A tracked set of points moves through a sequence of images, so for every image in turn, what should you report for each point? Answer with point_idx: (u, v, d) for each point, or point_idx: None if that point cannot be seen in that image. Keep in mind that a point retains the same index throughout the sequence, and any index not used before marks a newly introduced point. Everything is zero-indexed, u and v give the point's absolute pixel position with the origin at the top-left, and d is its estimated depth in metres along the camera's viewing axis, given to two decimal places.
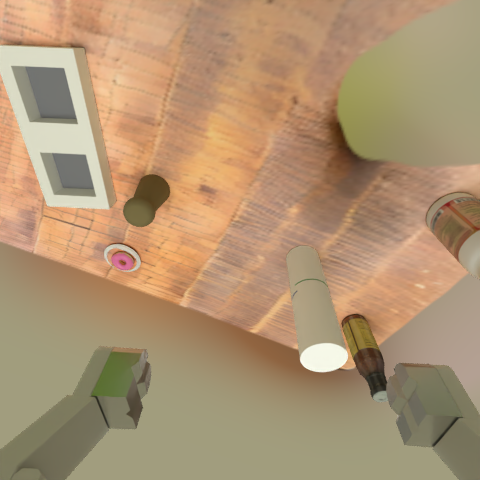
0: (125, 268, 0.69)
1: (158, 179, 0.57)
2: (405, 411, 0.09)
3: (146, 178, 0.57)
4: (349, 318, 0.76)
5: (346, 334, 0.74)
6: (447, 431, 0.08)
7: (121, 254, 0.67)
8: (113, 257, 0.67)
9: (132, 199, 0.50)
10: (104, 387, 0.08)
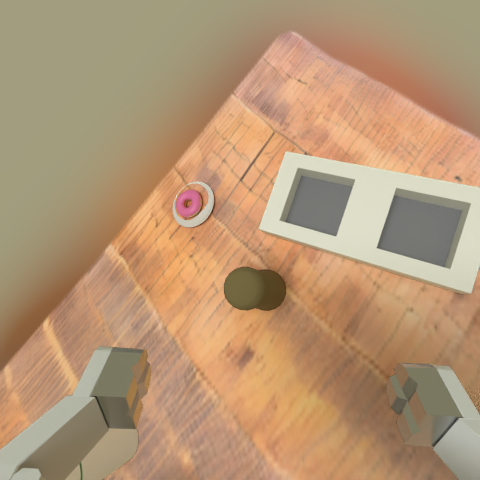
0: (178, 203, 0.52)
1: (277, 304, 0.43)
2: (405, 411, 0.09)
3: (282, 290, 0.43)
4: None
5: None
6: (447, 431, 0.08)
7: (197, 207, 0.51)
8: (197, 195, 0.51)
9: (264, 289, 0.36)
10: (104, 387, 0.08)
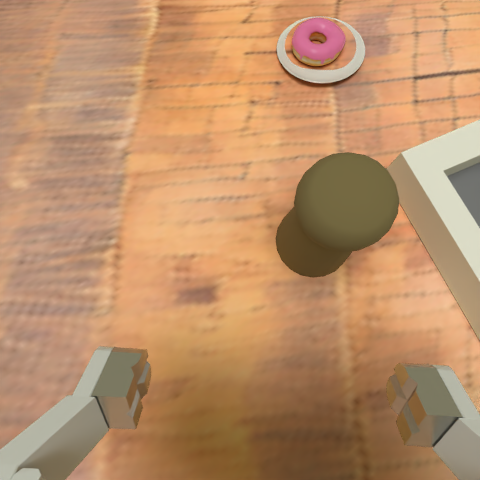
0: (306, 25, 0.28)
1: (313, 273, 0.23)
2: (405, 411, 0.09)
3: (340, 264, 0.23)
4: None
5: None
6: (447, 431, 0.08)
7: (327, 56, 0.28)
8: (342, 40, 0.28)
9: (381, 237, 0.15)
10: (104, 387, 0.08)
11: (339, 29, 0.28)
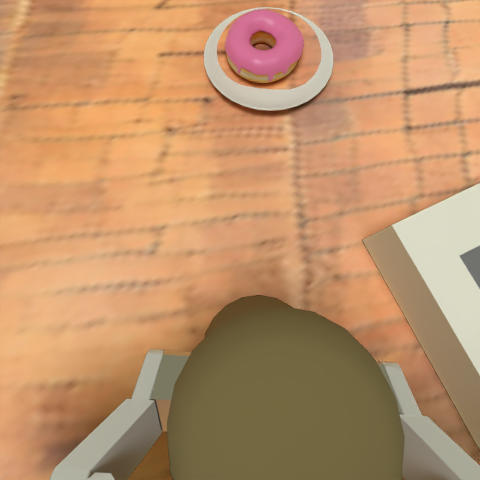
0: (244, 21, 0.19)
1: None
2: None
3: None
4: None
5: None
6: None
7: (276, 70, 0.18)
8: (298, 45, 0.18)
9: None
10: (162, 390, 0.08)
11: (294, 27, 0.19)
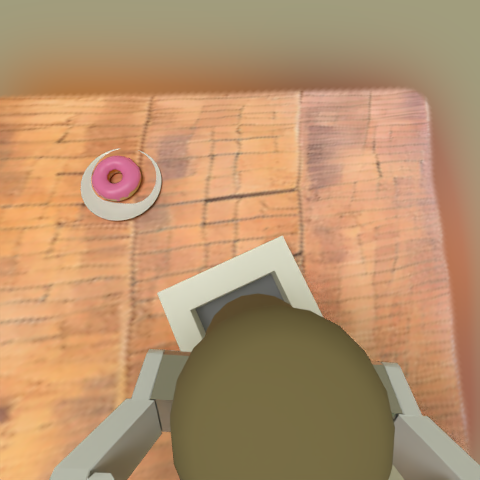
0: (102, 165, 0.31)
1: None
2: None
3: None
4: None
5: None
6: None
7: (120, 196, 0.30)
8: (134, 181, 0.30)
9: None
10: (162, 390, 0.08)
11: (133, 169, 0.31)
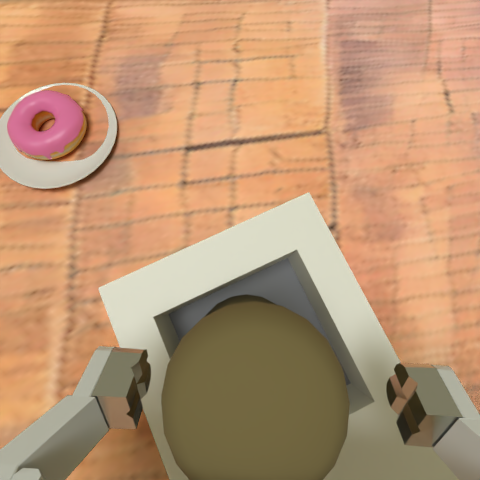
0: (23, 103, 0.20)
1: None
2: (405, 411, 0.09)
3: None
4: None
5: None
6: (447, 431, 0.08)
7: (50, 150, 0.19)
8: (72, 127, 0.20)
9: None
10: (104, 387, 0.08)
11: (71, 109, 0.20)
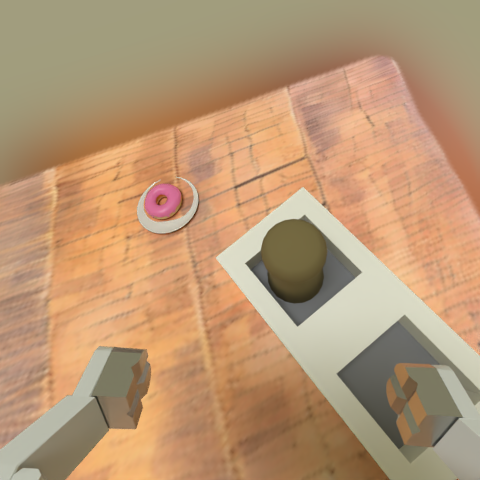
0: (150, 194, 0.38)
1: (301, 300, 0.31)
2: (405, 411, 0.09)
3: (319, 287, 0.31)
4: None
5: None
6: (447, 431, 0.08)
7: (169, 212, 0.37)
8: (177, 198, 0.38)
9: (322, 267, 0.23)
10: (104, 387, 0.08)
11: (174, 189, 0.38)
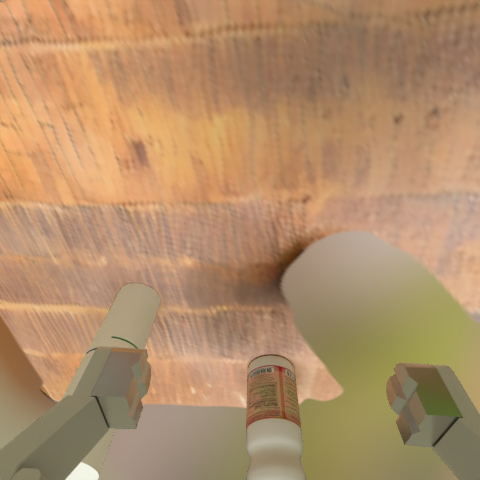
0: None
1: None
2: (405, 411, 0.09)
3: None
4: None
5: None
6: (447, 431, 0.08)
7: None
8: None
9: None
10: (104, 387, 0.08)
11: None
